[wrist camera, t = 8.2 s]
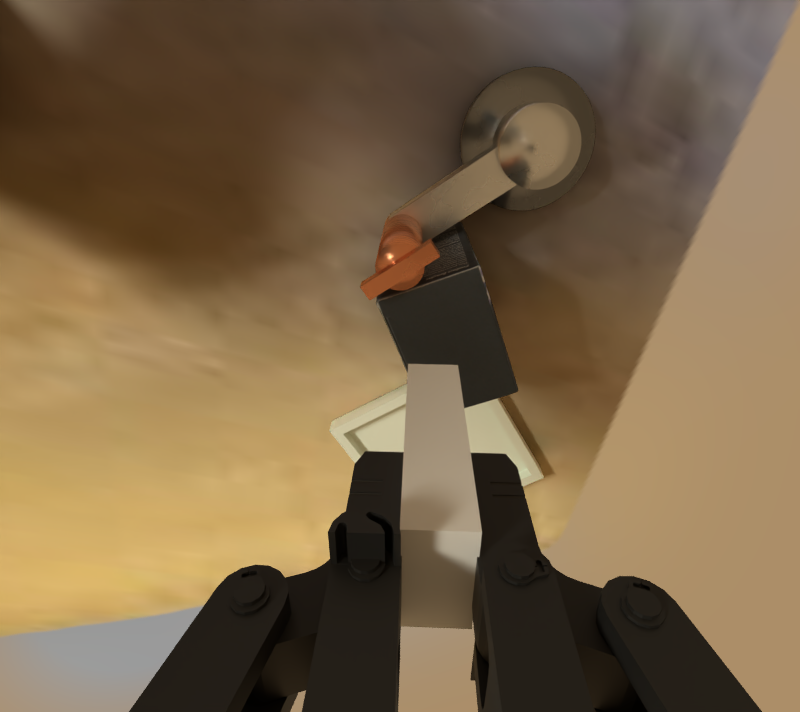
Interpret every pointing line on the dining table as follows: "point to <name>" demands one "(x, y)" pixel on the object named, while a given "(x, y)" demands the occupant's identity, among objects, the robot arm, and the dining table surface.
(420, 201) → the crank
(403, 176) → the dining table surface
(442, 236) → the box
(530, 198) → the crank base
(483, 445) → the tray
